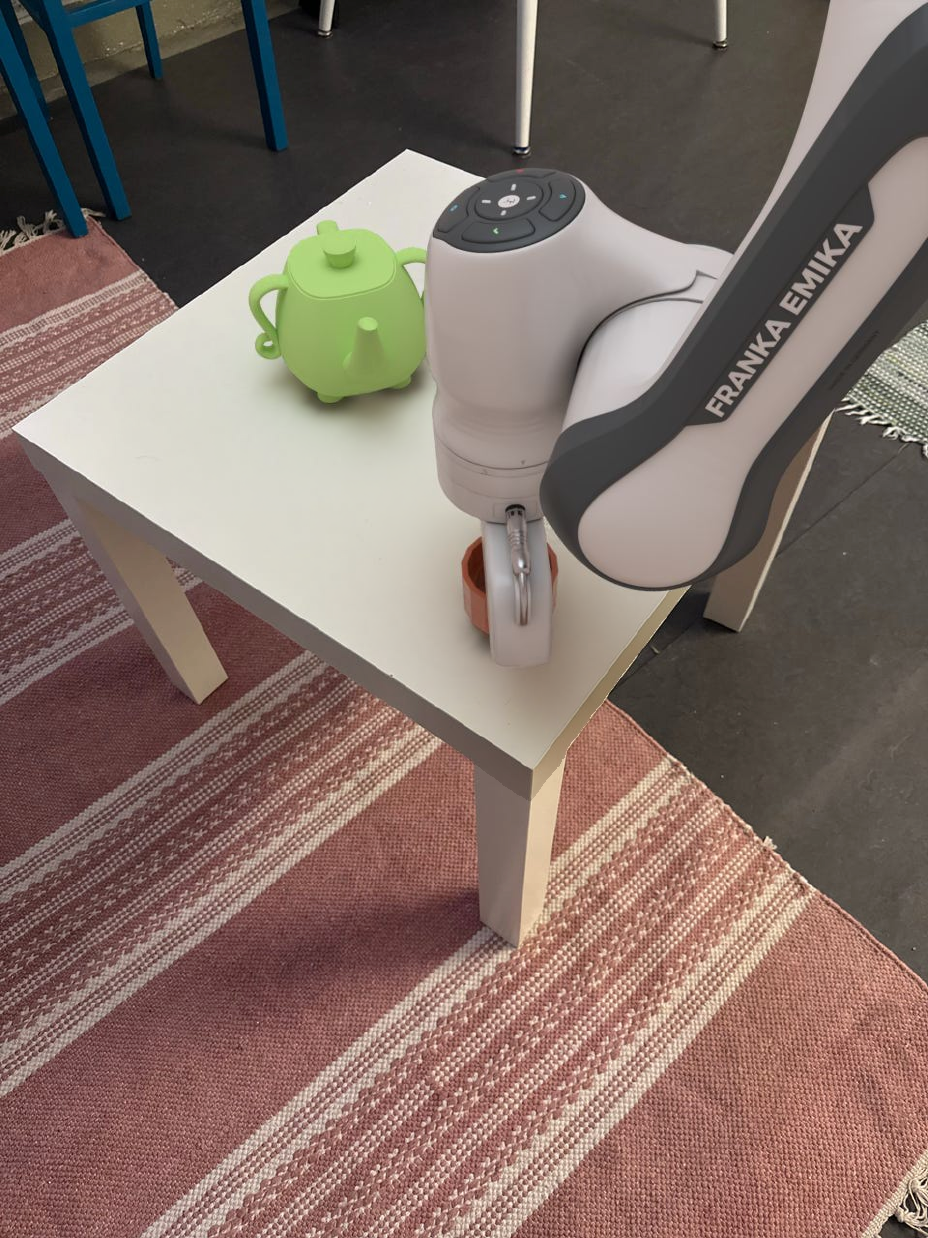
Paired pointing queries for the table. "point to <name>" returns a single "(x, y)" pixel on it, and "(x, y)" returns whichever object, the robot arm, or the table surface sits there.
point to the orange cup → (477, 589)
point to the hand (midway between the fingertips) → (508, 588)
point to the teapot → (344, 313)
